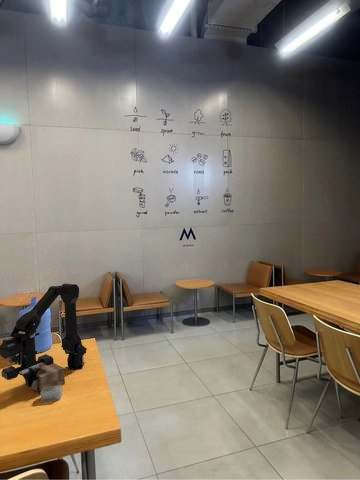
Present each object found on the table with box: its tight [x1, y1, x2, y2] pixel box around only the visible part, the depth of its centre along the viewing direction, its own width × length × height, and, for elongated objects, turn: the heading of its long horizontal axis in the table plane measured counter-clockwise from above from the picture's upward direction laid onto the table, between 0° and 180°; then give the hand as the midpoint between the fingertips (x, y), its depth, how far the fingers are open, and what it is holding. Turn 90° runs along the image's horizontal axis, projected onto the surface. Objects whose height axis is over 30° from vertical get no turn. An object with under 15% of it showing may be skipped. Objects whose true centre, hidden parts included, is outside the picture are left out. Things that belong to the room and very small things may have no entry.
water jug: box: [18, 296, 53, 354], centre depth 178 cm, size 16×16×28 cm
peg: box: [30, 378, 39, 391], centre depth 137 cm, size 7×4×4 cm, turn 141°
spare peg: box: [40, 385, 63, 403], centre depth 129 cm, size 7×4×4 cm, turn 98°
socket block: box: [24, 362, 66, 394], centre depth 140 cm, size 10×14×7 cm
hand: (29, 387), depth 133 cm, fingers closed
